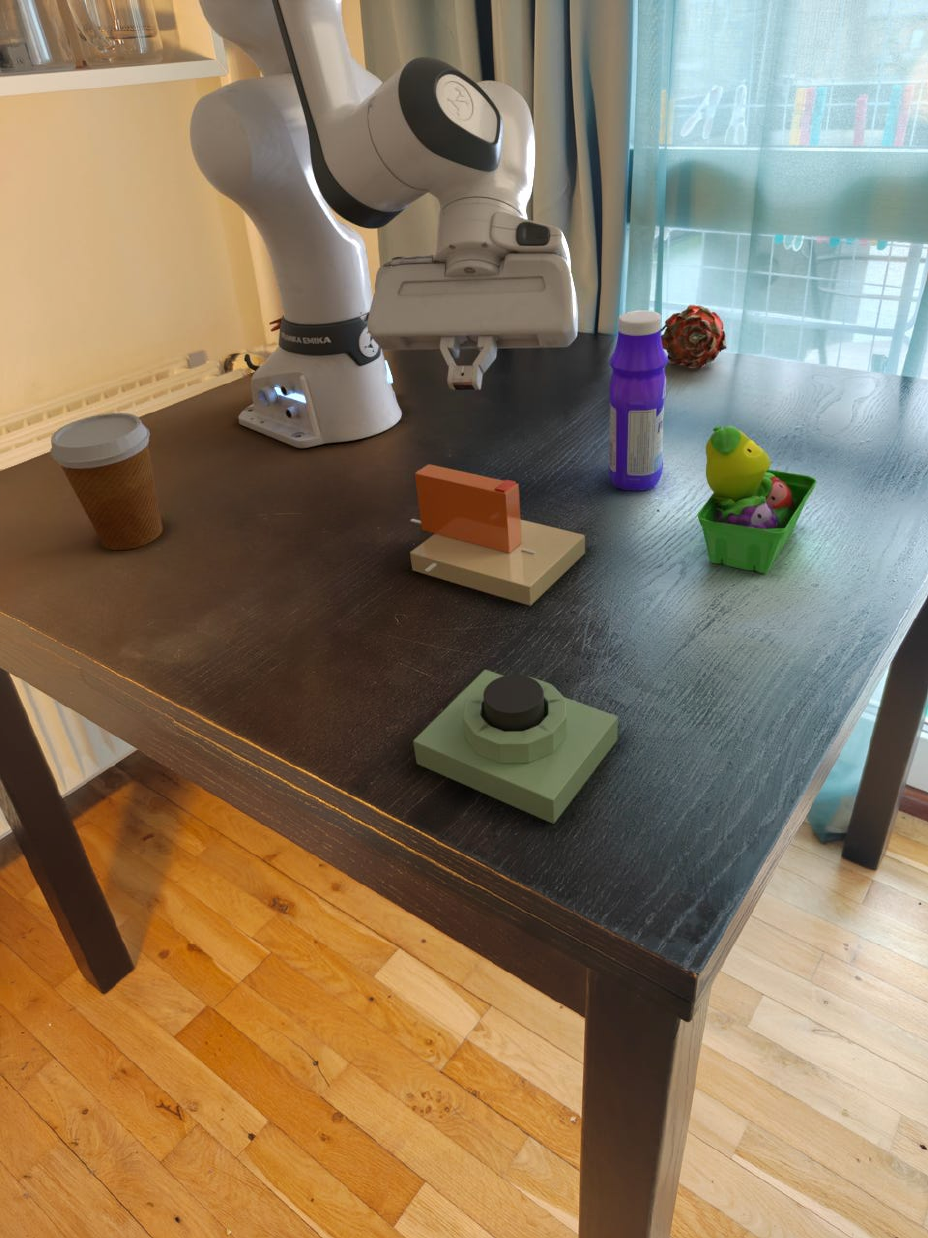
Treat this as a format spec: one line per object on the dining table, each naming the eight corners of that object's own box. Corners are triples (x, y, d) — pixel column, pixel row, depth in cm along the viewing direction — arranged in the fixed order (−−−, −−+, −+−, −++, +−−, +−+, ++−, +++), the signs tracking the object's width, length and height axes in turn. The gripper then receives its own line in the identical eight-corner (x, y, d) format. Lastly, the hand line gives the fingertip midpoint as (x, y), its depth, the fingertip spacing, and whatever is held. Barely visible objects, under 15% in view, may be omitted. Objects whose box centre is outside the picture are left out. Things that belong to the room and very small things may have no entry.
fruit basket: (776, 585, 75) (793, 464, 69) (677, 563, 79) (685, 447, 73) (811, 526, 83) (829, 412, 76) (719, 509, 87) (729, 400, 81)
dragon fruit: (705, 390, 117) (667, 376, 128) (754, 344, 116) (711, 333, 126) (669, 343, 113) (634, 332, 124) (719, 295, 112) (679, 288, 123)
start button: (473, 720, 59) (471, 700, 58) (505, 687, 61) (504, 667, 60) (524, 740, 57) (523, 720, 56) (555, 705, 59) (554, 685, 58)
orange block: (421, 529, 84) (414, 470, 81) (435, 519, 86) (428, 461, 82) (509, 553, 79) (505, 491, 76) (521, 542, 81) (518, 481, 77)
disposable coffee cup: (93, 568, 88) (51, 458, 81) (80, 530, 95) (41, 426, 88) (186, 540, 91) (154, 432, 84) (168, 506, 98) (136, 403, 91)
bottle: (661, 495, 90) (670, 325, 80) (606, 494, 92) (607, 327, 82) (662, 465, 96) (670, 303, 86) (610, 464, 97) (612, 305, 87)
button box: (416, 764, 61) (409, 720, 59) (486, 691, 67) (483, 649, 64) (553, 824, 55) (552, 779, 53) (617, 739, 61) (618, 695, 59)
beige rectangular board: (368, 572, 83) (365, 552, 82) (454, 508, 92) (452, 489, 91) (517, 618, 74) (516, 597, 73) (595, 543, 84) (595, 523, 82)
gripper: (367, 239, 84) (349, 373, 82) (579, 228, 79) (565, 371, 77) (389, 275, 90) (372, 401, 88) (586, 267, 85) (574, 401, 83)
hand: (463, 387), depth 82 cm, fingers closed
